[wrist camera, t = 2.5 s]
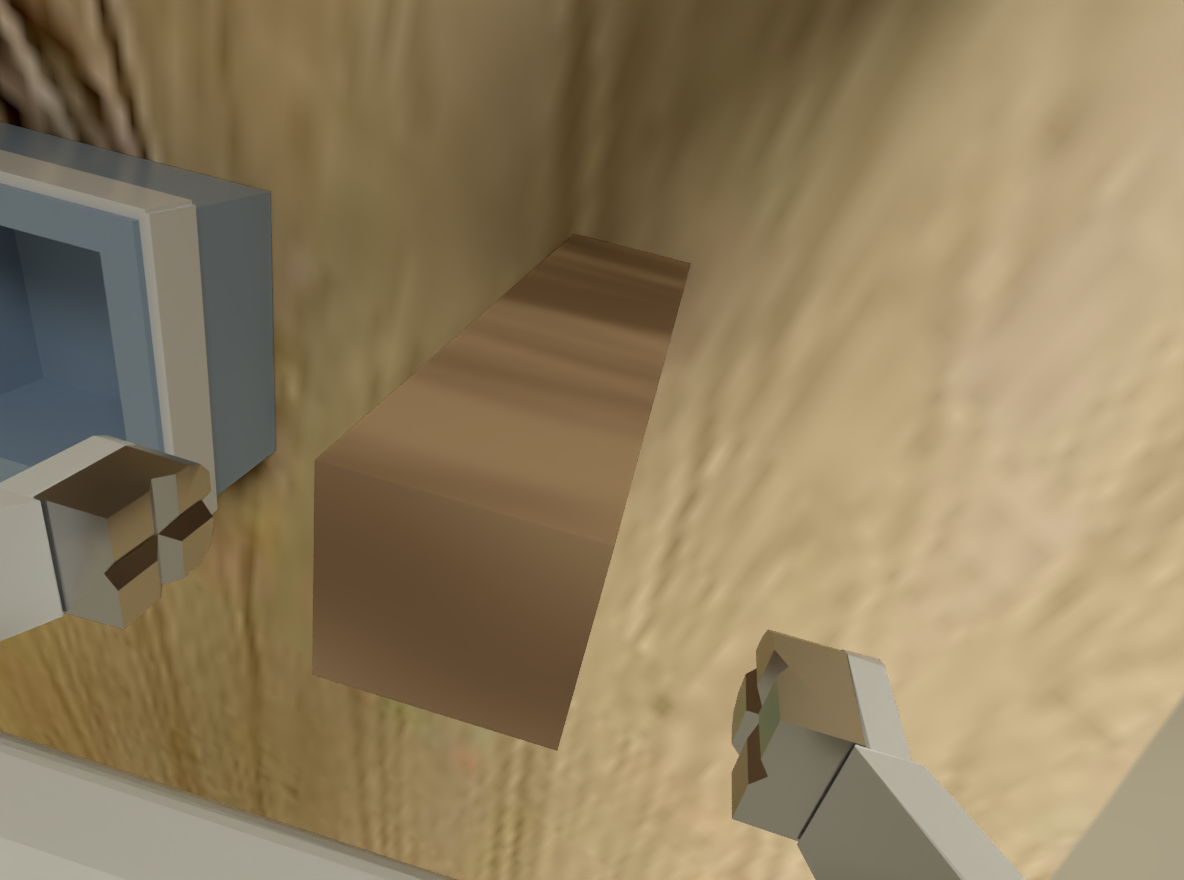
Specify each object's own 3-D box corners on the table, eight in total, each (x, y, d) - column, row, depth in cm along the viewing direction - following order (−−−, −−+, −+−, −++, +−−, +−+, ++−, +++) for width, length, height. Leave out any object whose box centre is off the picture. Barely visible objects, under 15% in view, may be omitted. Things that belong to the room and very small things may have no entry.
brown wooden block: (574, 233, 20) (315, 460, 8) (690, 263, 20) (614, 546, 7) (553, 344, 22) (313, 675, 9) (660, 373, 21) (556, 750, 9)
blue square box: (-16, 108, 22) (-231, 112, 17) (279, 184, 21) (142, 211, 16) (42, 389, 26) (-113, 456, 22) (283, 459, 26) (178, 543, 21)
